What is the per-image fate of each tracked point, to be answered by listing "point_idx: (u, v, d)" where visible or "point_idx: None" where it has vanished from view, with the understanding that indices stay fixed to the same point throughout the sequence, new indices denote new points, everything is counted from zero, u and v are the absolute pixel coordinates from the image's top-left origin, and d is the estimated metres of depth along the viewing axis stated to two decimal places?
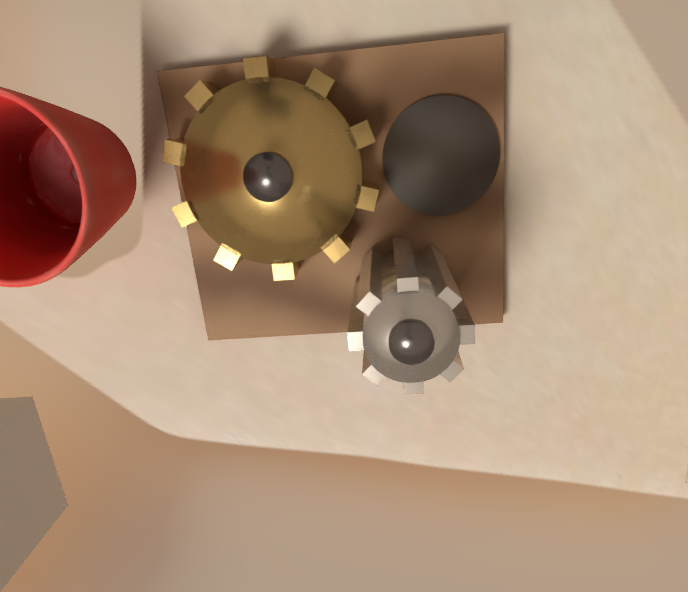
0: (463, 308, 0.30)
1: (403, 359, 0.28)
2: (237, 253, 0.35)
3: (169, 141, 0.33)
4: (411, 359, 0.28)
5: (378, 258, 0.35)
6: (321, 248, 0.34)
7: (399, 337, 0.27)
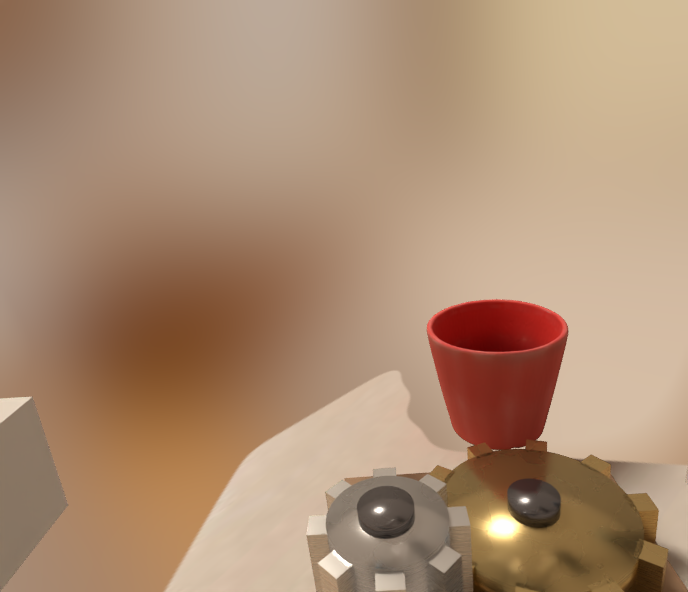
0: None
1: (364, 498, 0.22)
2: (445, 481, 0.35)
3: (546, 444, 0.37)
4: (363, 505, 0.22)
5: None
6: None
7: (395, 494, 0.23)
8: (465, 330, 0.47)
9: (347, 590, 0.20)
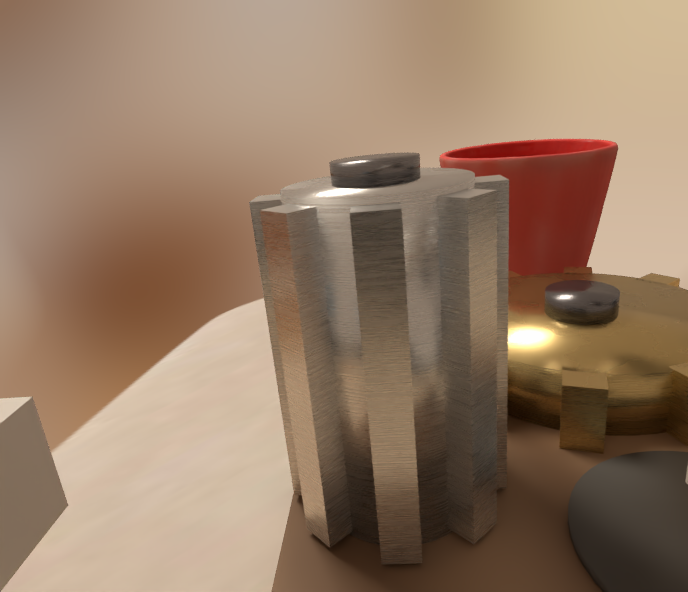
0: (407, 315, 0.12)
1: (343, 159, 0.15)
2: None
3: (590, 269, 0.29)
4: (341, 160, 0.14)
5: None
6: None
7: (390, 154, 0.15)
8: None
9: (306, 250, 0.12)
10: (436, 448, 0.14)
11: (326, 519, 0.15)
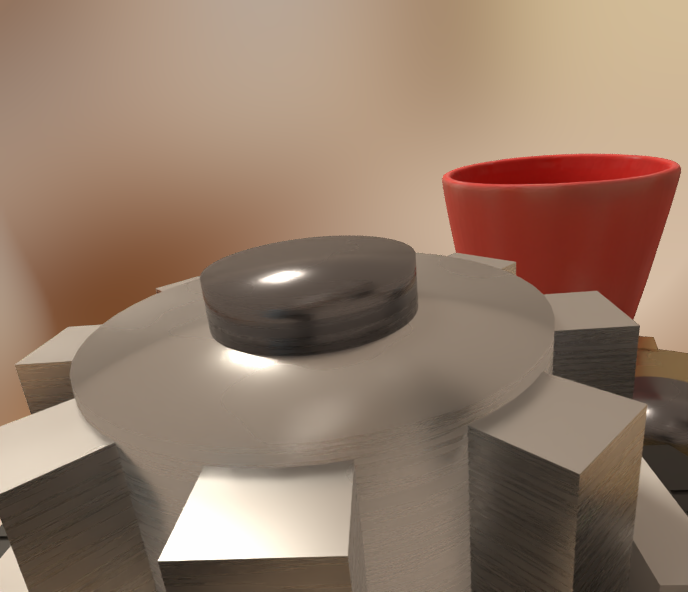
0: None
1: (244, 255, 0.06)
2: None
3: (652, 340, 0.21)
4: (232, 265, 0.06)
5: None
6: None
7: (349, 244, 0.06)
8: None
9: (89, 565, 0.04)
10: None
11: None
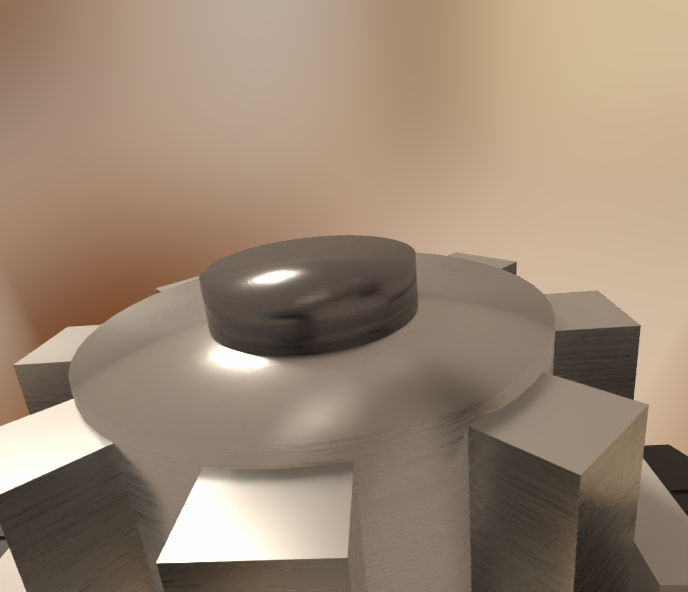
0: None
1: (243, 255, 0.06)
2: None
3: None
4: (232, 265, 0.06)
5: None
6: None
7: (350, 245, 0.06)
8: None
9: (88, 567, 0.04)
10: None
11: None
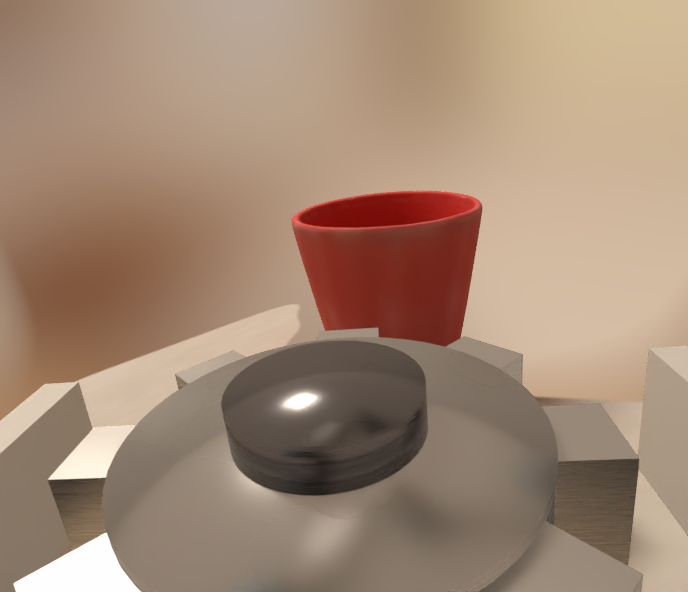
0: None
1: (261, 368, 0.07)
2: None
3: None
4: (250, 385, 0.06)
5: None
6: None
7: (362, 359, 0.07)
8: None
9: None
10: None
11: None
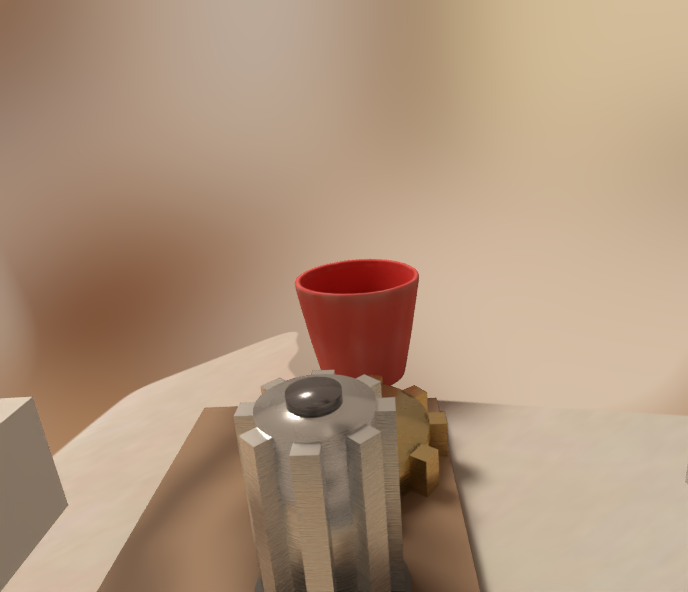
0: (325, 507, 0.20)
1: (294, 385, 0.23)
2: None
3: (380, 377, 0.41)
4: (292, 389, 0.22)
5: None
6: None
7: (325, 382, 0.23)
8: (342, 287, 0.51)
9: (266, 463, 0.20)
10: (350, 575, 0.22)
11: None
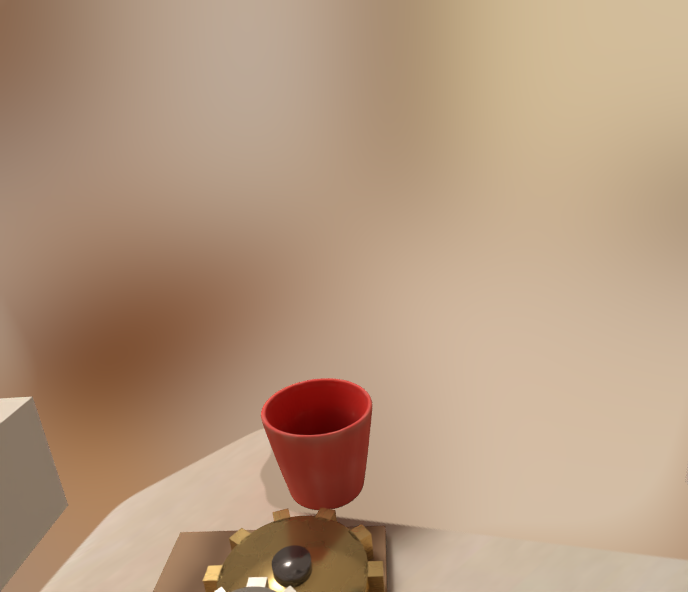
0: None
1: None
2: (240, 543, 0.43)
3: (333, 512, 0.46)
4: None
5: None
6: None
7: None
8: (307, 403, 0.56)
9: None
10: None
11: None
